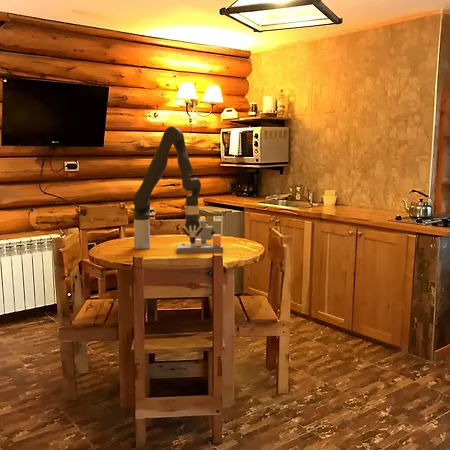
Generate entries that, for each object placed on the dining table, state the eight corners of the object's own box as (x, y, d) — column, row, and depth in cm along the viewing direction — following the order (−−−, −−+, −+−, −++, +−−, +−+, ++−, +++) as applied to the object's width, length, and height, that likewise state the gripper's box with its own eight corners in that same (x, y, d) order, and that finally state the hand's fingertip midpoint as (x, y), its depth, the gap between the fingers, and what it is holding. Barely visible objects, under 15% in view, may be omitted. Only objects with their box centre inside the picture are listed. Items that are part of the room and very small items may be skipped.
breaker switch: (196, 245, 292) (196, 239, 292) (195, 244, 296) (195, 238, 295) (201, 245, 292) (201, 239, 292) (200, 244, 296) (200, 238, 296)
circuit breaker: (213, 246, 310) (213, 221, 308) (190, 245, 313) (190, 221, 311) (216, 243, 317) (215, 220, 315) (193, 243, 320) (193, 219, 318)
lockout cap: (213, 245, 293) (213, 235, 293) (212, 244, 297) (213, 234, 296) (220, 245, 294) (220, 235, 293) (219, 244, 298) (219, 234, 297)
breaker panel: (177, 253, 287) (177, 246, 287) (176, 249, 299) (176, 243, 298) (223, 252, 291) (223, 245, 290) (220, 248, 302) (220, 242, 302)
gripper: (180, 214, 286) (181, 244, 289) (204, 213, 288) (204, 244, 291) (180, 212, 294) (180, 242, 296) (203, 212, 295) (203, 241, 298)
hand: (192, 243), depth 293 cm, fingers closed
